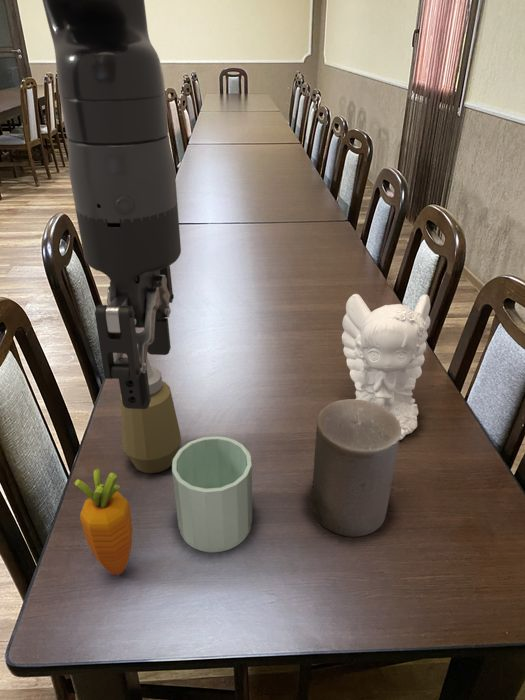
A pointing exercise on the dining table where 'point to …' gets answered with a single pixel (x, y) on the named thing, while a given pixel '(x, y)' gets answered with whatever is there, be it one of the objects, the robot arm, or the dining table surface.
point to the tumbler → (213, 493)
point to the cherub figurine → (387, 354)
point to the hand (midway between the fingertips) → (149, 377)
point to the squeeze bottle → (151, 428)
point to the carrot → (107, 523)
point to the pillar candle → (354, 466)
